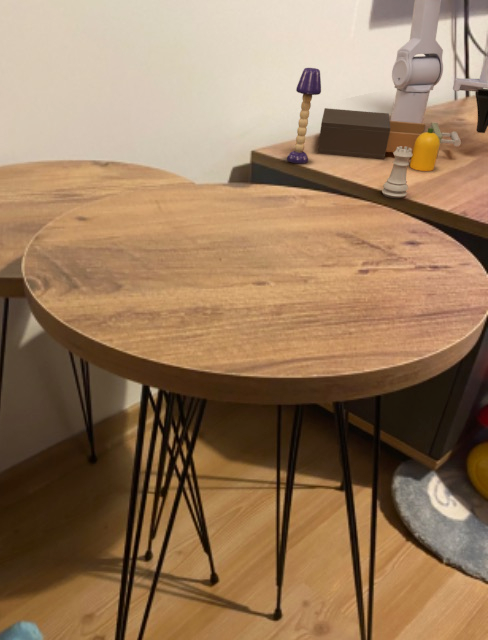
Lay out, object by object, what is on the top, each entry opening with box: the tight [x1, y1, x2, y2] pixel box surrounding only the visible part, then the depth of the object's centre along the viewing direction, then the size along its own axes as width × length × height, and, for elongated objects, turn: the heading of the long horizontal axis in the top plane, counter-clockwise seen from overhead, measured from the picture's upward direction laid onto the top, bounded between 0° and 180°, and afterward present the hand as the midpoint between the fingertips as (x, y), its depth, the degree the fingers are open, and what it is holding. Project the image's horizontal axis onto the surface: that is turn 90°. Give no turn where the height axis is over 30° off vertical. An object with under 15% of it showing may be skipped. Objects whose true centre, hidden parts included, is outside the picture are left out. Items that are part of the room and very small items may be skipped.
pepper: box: [409, 127, 441, 172], centre depth 128 cm, size 5×5×7 cm
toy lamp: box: [286, 67, 322, 165], centre depth 126 cm, size 5×5×17 cm
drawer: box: [386, 120, 462, 160], centre depth 136 cm, size 17×11×4 cm
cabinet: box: [316, 107, 391, 160], centre depth 138 cm, size 14×13×6 cm
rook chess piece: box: [381, 146, 413, 199], centre depth 114 cm, size 4×4×8 cm
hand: (480, 131), depth 132 cm, fingers closed
